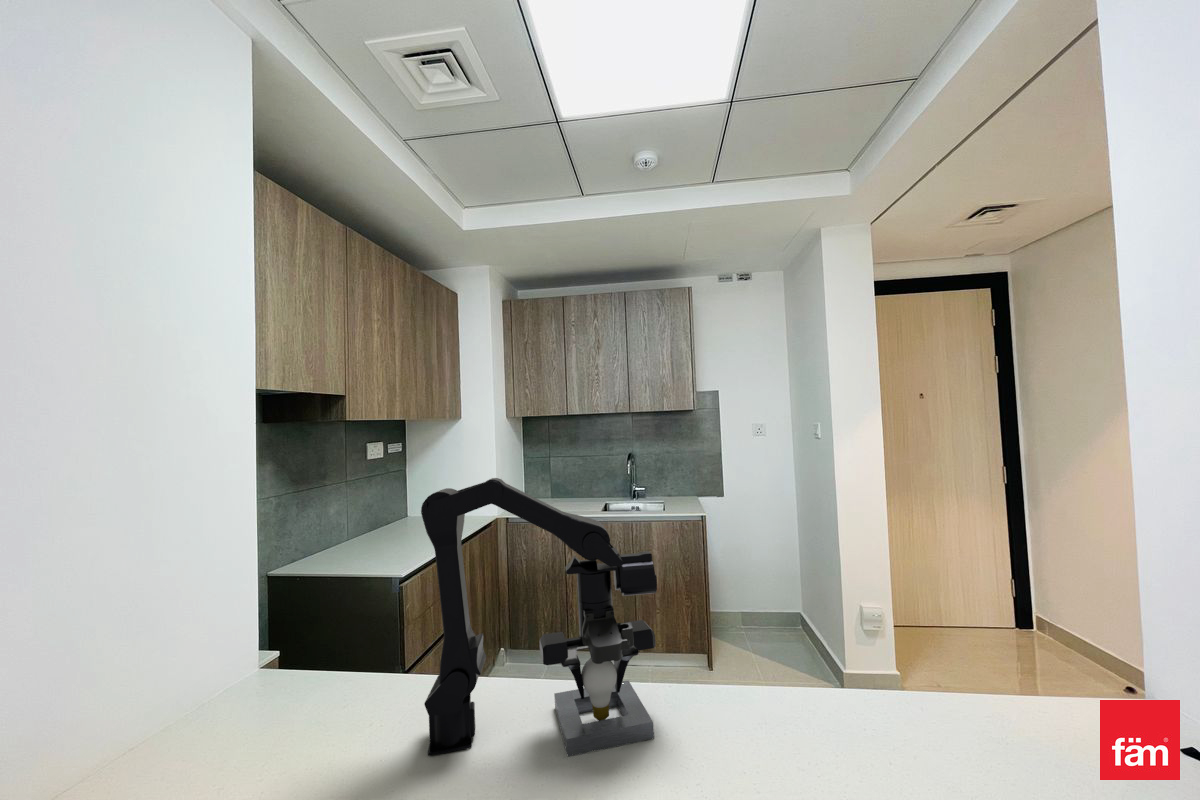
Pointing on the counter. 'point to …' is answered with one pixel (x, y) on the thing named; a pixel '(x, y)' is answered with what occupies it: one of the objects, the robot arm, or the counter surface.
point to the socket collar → (602, 721)
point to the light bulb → (599, 686)
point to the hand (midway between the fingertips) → (600, 694)
